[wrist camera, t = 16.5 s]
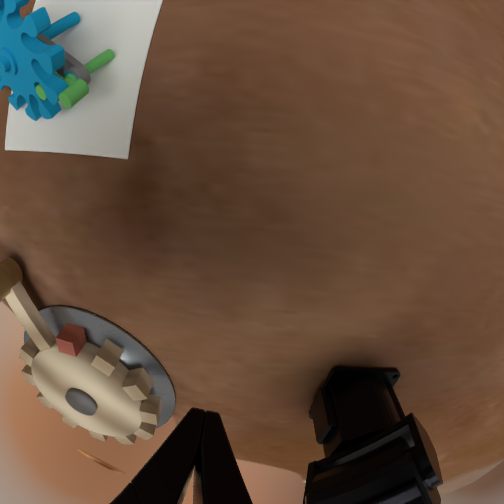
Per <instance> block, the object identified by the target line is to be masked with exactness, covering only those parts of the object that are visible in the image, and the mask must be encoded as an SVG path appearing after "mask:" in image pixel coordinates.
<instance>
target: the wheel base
mask: <svg viewBox="0 0 504 504" xmlns="http://www.w3.org/2000/svg"><path fill="white" fill-rule="evenodd" d="M38 312H39V313H40V315H41V316H42V318H43V319H44V321H45V322H46V324H47V325H48V327H49V328H50V330H51V331H52V333H53V334H54V336H55V337H56V336H57V335H58V334H59V332H60V331H61V330H62V329H63V327H64V326H65V325H66V324H67V323H69V324H73V325H77V326H80V327H84V331H85V336H86V341H87V342H88V343H90V344H93V345H95V346H96V347H98V348H101V347H102V345H103V343H104V342H105V340H106V338H107V339H108V340H110V341H111V342H113V343H114V344H115V345H117V346H118V347H120V348H121V349H123V350H124V351H123V353H122V355H121V357H120V359H119V362H120V363H122V364H123V365H124V366H125V367H126V368H127V369H128V370H133V369H137V368H142V367H143V368H144V369H145V371H146V372H147V373H148V375H149V376H150V377H151V378H152V380H153V381H154V382H153V385H152V387H151V390H150V393H149V395H153V396H158V397H161V400H162V411H161V414H160V418H159V421H158V425H156V428H158V427H160V426H162V425H163V424H165V423H166V422H167V421H168V420H169V419H170V418H171V416H172V414H173V412H174V409H175V403H176V396H175V391H174V387H173V384H172V382H171V379H170V377H169V376H168V374H167V372H166V371H165V369H164V368H163V366H162V365H161V364H160V362H159V361H158V360H157V359H156V357H155V356H154V355H153V354H152V353H151V352H150V351H149V350H148V349H147V348H146V347H145V346H144V345H143V344H141V343H140V342H139V341H138V340H137V339H135V338H134V337H133V336H132V335H130V334H129V333H128V332H126V331H125V330H123V329H122V328H120V327H119V326H117V325H116V324H114V323H112V322H110V321H108V320H107V319H105V318H103V317H100V316H98V315H96V314H94V313H91V312H89V311H86V310H83V309H79V308H75V307H70V306H50V307H45V308H43V309H41V310H39V311H38ZM29 338H30V336H29V334H28V333H27V332H26V330H25V332H24V344H25V343H26V342H27V340H28V339H29Z"/></svg>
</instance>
